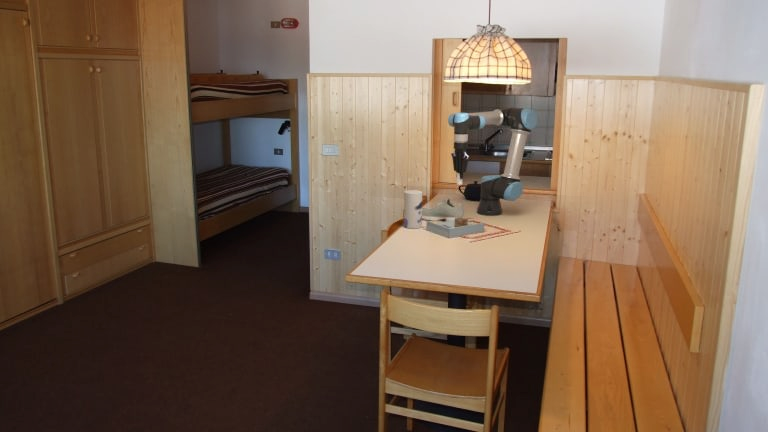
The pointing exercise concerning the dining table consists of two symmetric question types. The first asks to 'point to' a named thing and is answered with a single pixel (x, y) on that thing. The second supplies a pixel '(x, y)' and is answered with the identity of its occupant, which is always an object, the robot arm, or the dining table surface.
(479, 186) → the teapot
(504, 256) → the dining table surface
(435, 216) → the running shoe
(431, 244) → the dining table surface
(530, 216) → the dining table surface
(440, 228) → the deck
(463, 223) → the block
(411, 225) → the container
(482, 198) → the robot arm
